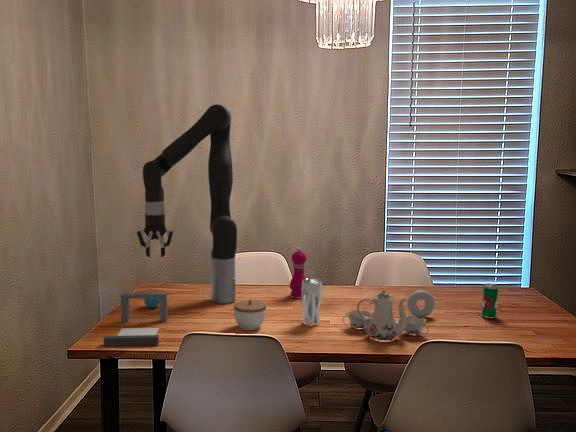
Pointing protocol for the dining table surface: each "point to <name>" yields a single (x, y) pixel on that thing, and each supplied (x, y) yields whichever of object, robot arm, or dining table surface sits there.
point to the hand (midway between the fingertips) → (155, 256)
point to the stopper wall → (131, 340)
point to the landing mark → (138, 331)
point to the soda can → (490, 300)
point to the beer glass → (311, 300)
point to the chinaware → (385, 319)
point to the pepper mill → (298, 273)
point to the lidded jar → (249, 314)
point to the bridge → (160, 295)
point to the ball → (152, 302)
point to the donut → (418, 296)
